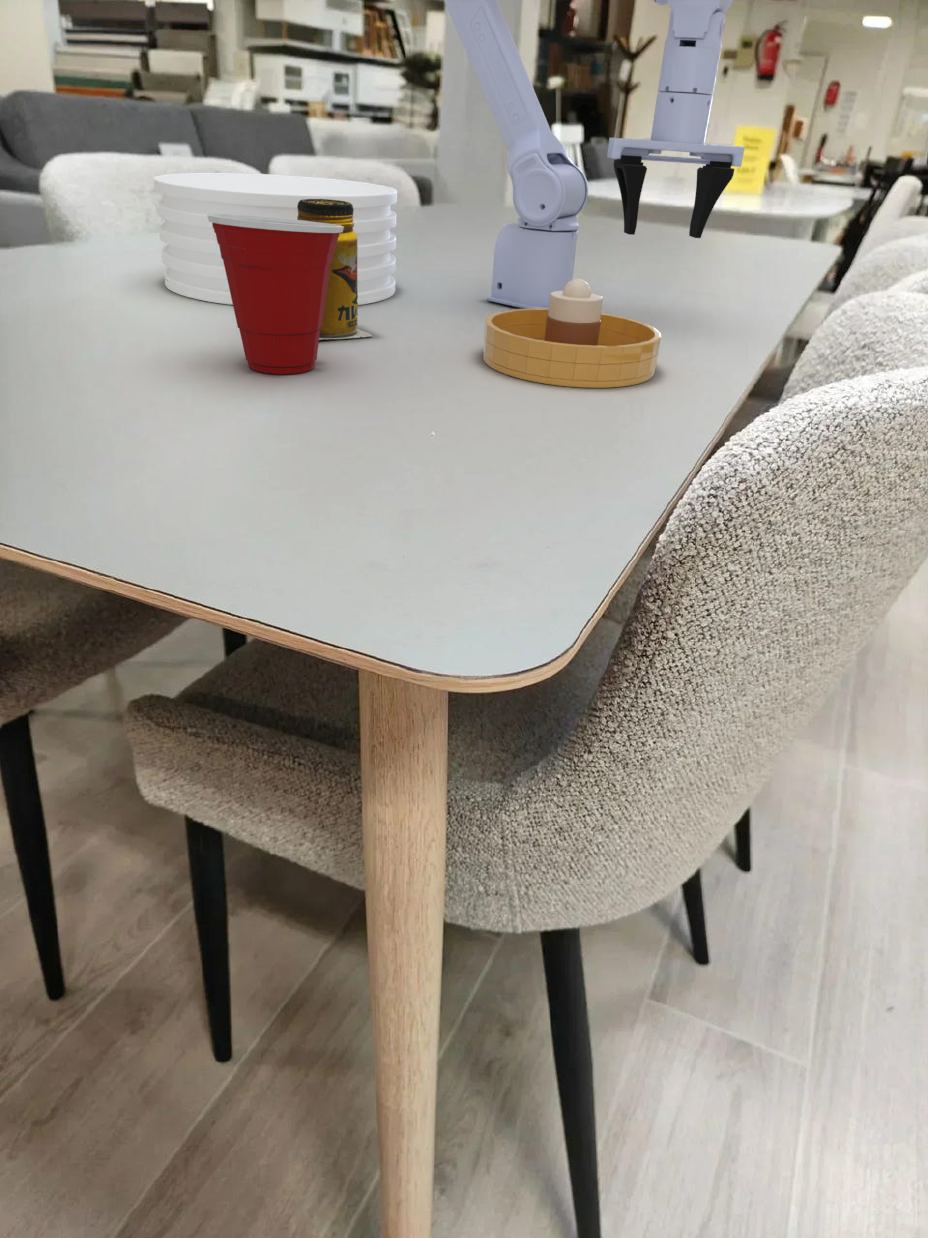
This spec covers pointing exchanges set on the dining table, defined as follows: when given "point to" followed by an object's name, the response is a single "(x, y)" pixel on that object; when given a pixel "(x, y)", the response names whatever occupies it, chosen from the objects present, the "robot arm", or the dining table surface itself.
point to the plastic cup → (277, 286)
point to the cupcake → (574, 315)
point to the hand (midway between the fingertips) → (662, 235)
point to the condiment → (338, 268)
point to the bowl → (570, 351)
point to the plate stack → (266, 196)
